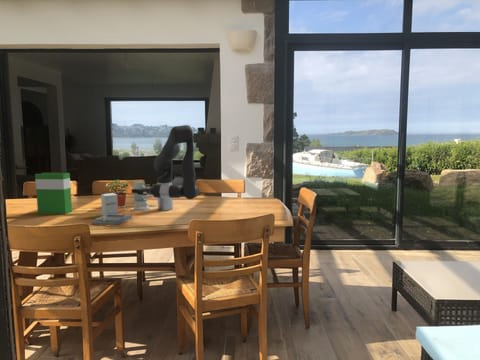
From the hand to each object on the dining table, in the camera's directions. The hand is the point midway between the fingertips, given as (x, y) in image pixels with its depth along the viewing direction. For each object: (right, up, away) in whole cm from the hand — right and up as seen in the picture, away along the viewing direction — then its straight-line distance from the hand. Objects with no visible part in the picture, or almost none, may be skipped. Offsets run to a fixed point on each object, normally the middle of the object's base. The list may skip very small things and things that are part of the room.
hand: (134, 190), depth 222 cm
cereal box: (-54, -14, +22) cm, 60 cm away
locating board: (-12, -17, -2) cm, 21 cm away
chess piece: (-3, -13, +31) cm, 34 cm away
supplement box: (-18, -15, +14) cm, 27 cm away
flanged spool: (+3, -7, +1) cm, 7 cm away
